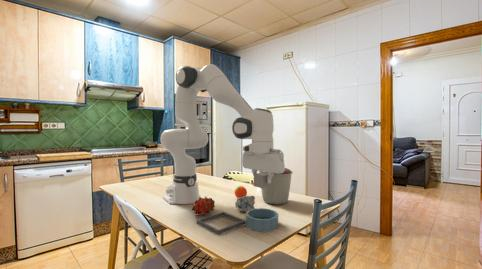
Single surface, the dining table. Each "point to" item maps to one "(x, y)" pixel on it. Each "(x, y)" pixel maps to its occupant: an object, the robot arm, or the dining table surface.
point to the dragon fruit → (203, 206)
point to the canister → (278, 188)
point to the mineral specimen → (245, 203)
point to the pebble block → (261, 180)
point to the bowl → (262, 219)
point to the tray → (219, 231)
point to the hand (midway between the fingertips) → (262, 181)
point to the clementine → (240, 191)
